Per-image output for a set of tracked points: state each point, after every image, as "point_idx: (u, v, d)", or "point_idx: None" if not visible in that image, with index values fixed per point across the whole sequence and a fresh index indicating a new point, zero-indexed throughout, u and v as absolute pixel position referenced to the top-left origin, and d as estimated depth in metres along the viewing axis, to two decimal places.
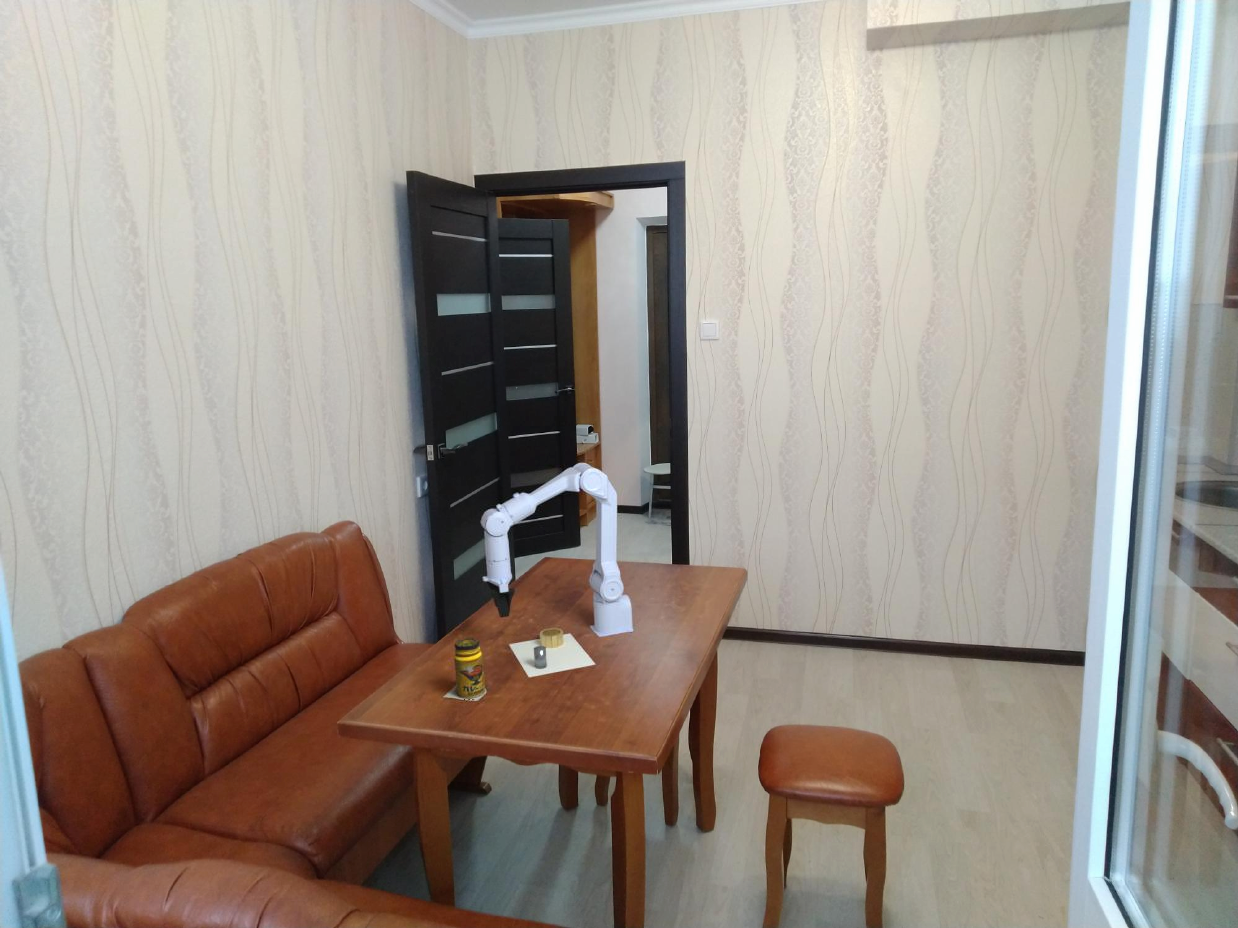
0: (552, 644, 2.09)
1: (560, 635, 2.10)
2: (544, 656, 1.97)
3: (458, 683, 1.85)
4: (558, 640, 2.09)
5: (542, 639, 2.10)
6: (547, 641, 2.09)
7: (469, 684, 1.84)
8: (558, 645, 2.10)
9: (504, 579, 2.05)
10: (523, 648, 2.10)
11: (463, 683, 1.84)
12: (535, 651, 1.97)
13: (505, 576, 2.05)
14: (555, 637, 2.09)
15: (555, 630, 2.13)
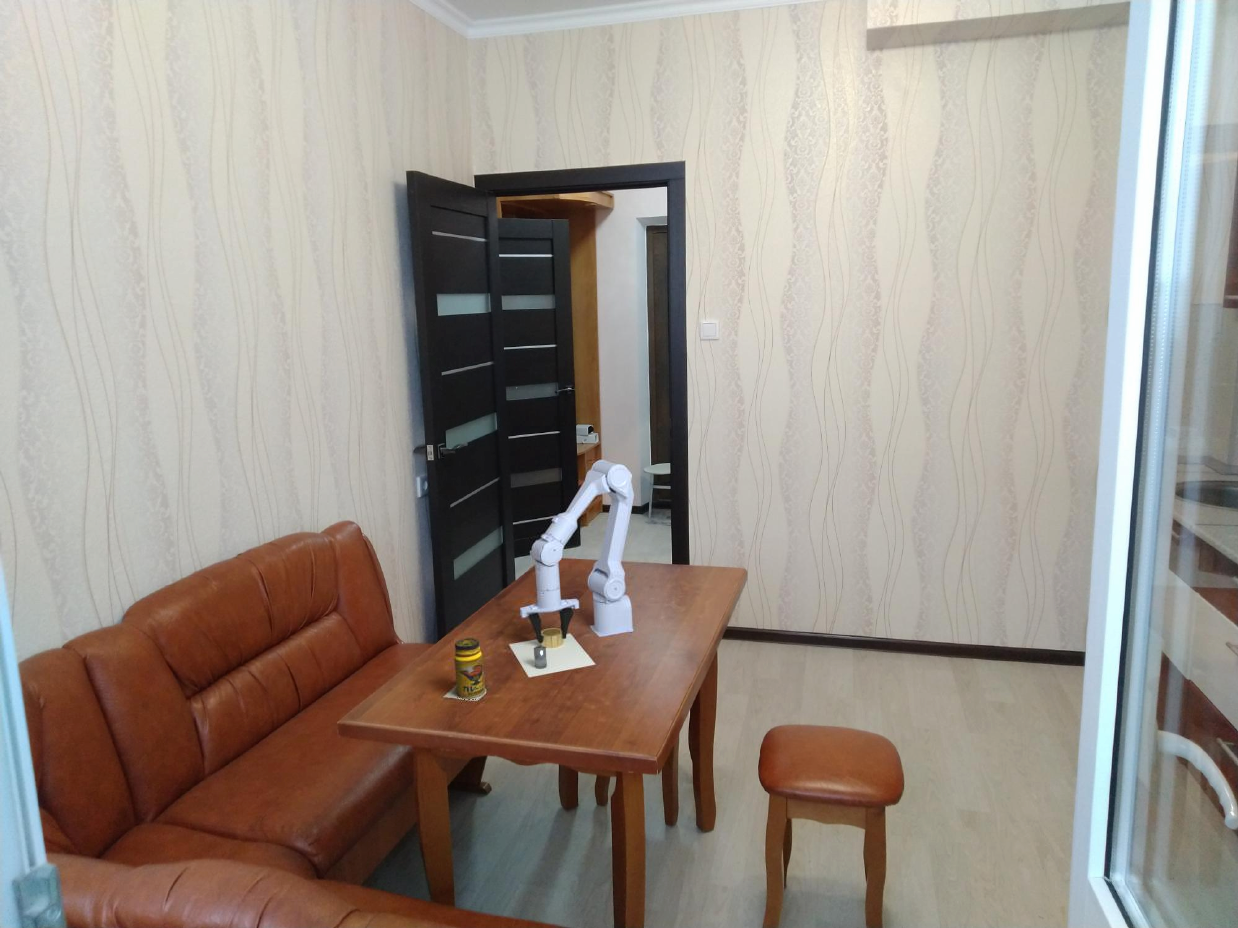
0: (552, 644, 2.09)
1: (560, 635, 2.10)
2: (544, 656, 1.97)
3: (458, 683, 1.85)
4: (558, 640, 2.09)
5: (542, 639, 2.10)
6: (547, 641, 2.09)
7: (469, 684, 1.84)
8: (558, 645, 2.10)
9: (539, 608, 2.08)
10: (523, 648, 2.10)
11: (463, 683, 1.84)
12: (535, 651, 1.97)
13: (540, 606, 2.08)
14: (555, 637, 2.09)
15: (555, 630, 2.13)
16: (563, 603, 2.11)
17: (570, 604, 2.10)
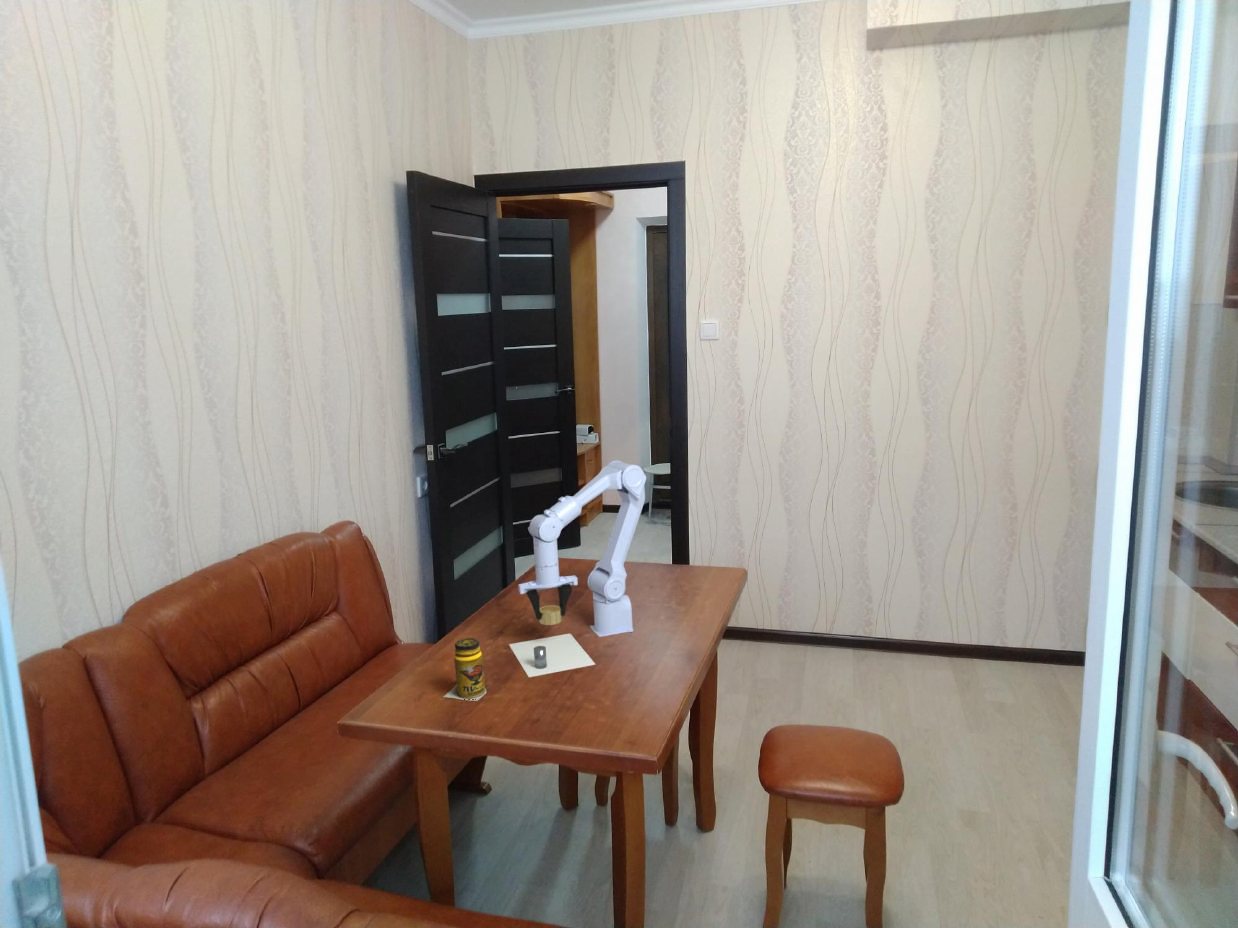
0: (551, 621, 2.08)
1: (559, 612, 2.09)
2: (544, 656, 1.97)
3: (458, 683, 1.85)
4: (557, 617, 2.08)
5: (541, 616, 2.09)
6: (546, 618, 2.08)
7: (469, 684, 1.84)
8: (557, 622, 2.08)
9: (537, 584, 2.07)
10: (523, 648, 2.10)
11: (463, 683, 1.84)
12: (535, 651, 1.97)
13: (538, 582, 2.07)
14: (554, 614, 2.08)
15: (554, 607, 2.12)
16: (562, 580, 2.10)
17: (569, 581, 2.09)
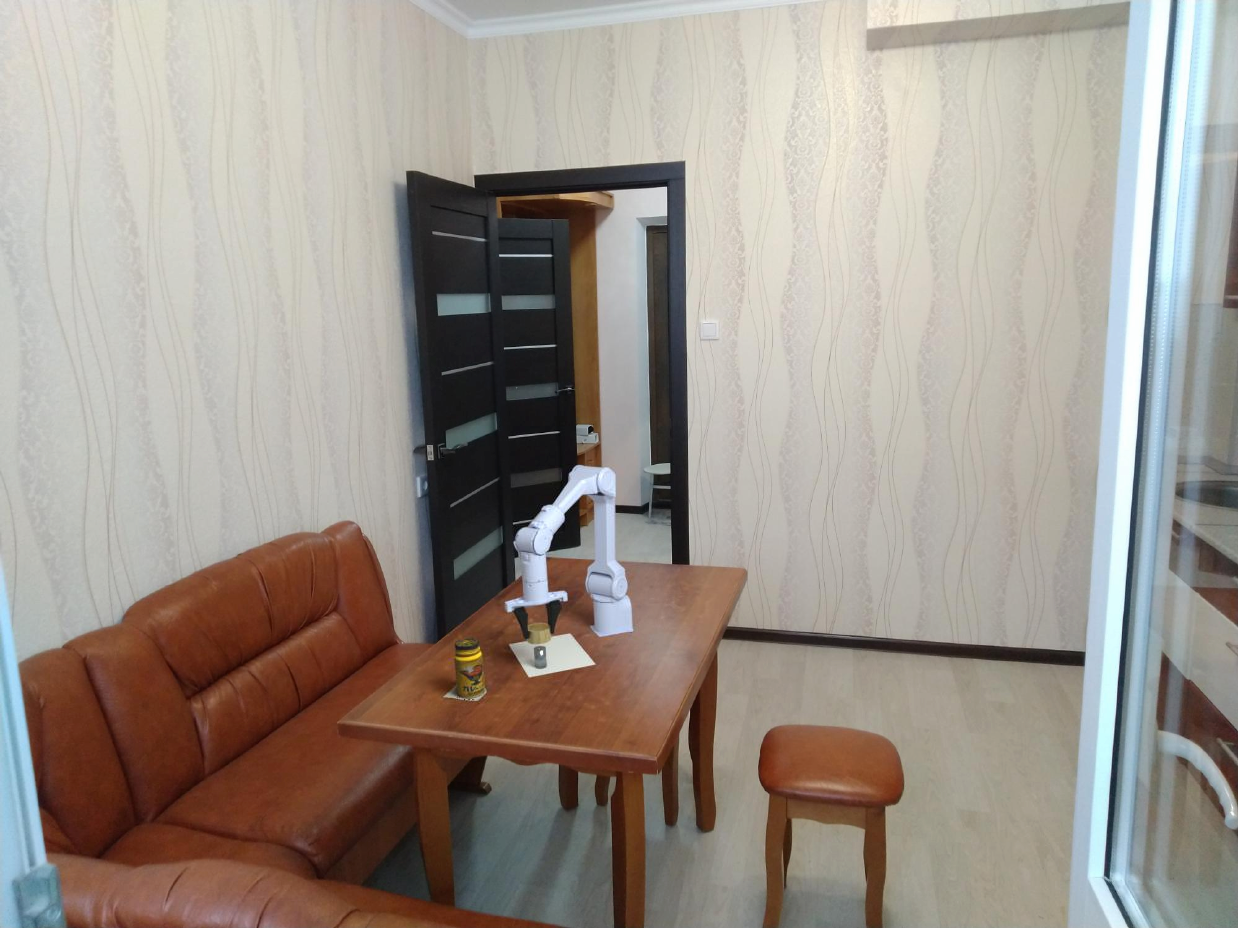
0: (540, 640, 1.95)
1: (548, 630, 1.96)
2: (544, 656, 1.97)
3: (458, 683, 1.85)
4: (546, 635, 1.95)
5: (529, 635, 1.95)
6: (534, 637, 1.95)
7: (469, 684, 1.84)
8: (546, 641, 1.95)
9: (525, 601, 1.94)
10: (523, 648, 2.10)
11: (463, 683, 1.84)
12: (535, 651, 1.97)
13: (527, 599, 1.93)
14: (543, 632, 1.95)
15: (542, 624, 1.99)
16: (550, 596, 1.97)
17: (558, 596, 1.96)
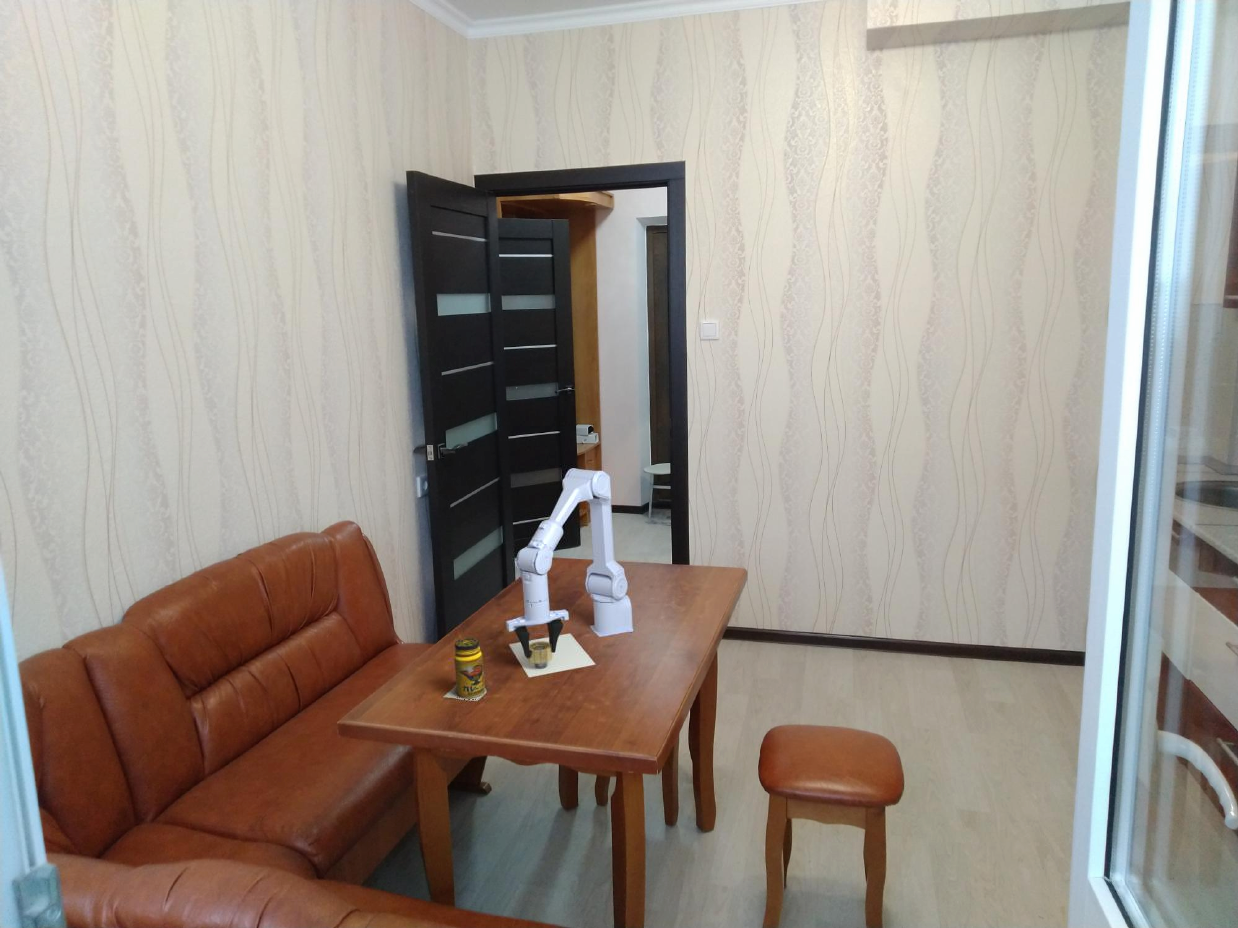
0: (541, 659, 1.95)
1: (549, 649, 1.97)
2: None
3: (458, 683, 1.85)
4: (548, 654, 1.96)
5: (530, 654, 1.96)
6: (536, 656, 1.95)
7: (469, 684, 1.84)
8: (547, 660, 1.96)
9: (526, 620, 1.95)
10: None
11: (463, 683, 1.84)
12: None
13: (528, 618, 1.94)
14: (544, 651, 1.95)
15: (543, 643, 2.00)
16: (552, 615, 1.98)
17: (559, 615, 1.97)
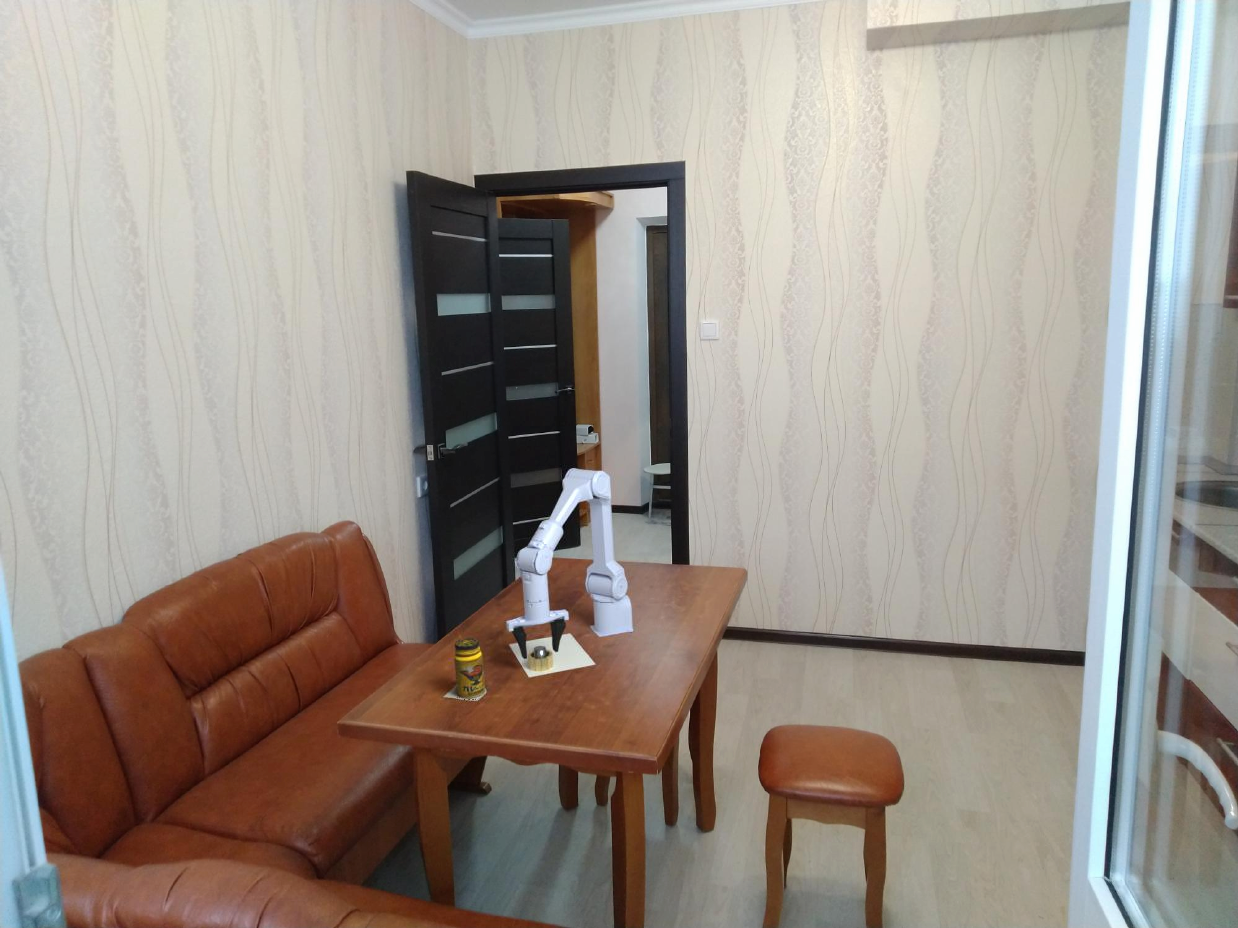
0: (542, 667, 1.96)
1: (550, 657, 1.97)
2: (544, 656, 1.97)
3: (458, 683, 1.85)
4: (548, 662, 1.97)
5: (531, 662, 1.96)
6: (536, 664, 1.96)
7: (469, 684, 1.84)
8: (548, 668, 1.97)
9: (526, 620, 1.95)
10: None
11: (463, 683, 1.84)
12: (535, 651, 1.97)
13: (528, 618, 1.94)
14: (545, 659, 1.96)
15: None
16: (552, 615, 1.98)
17: (559, 615, 1.97)
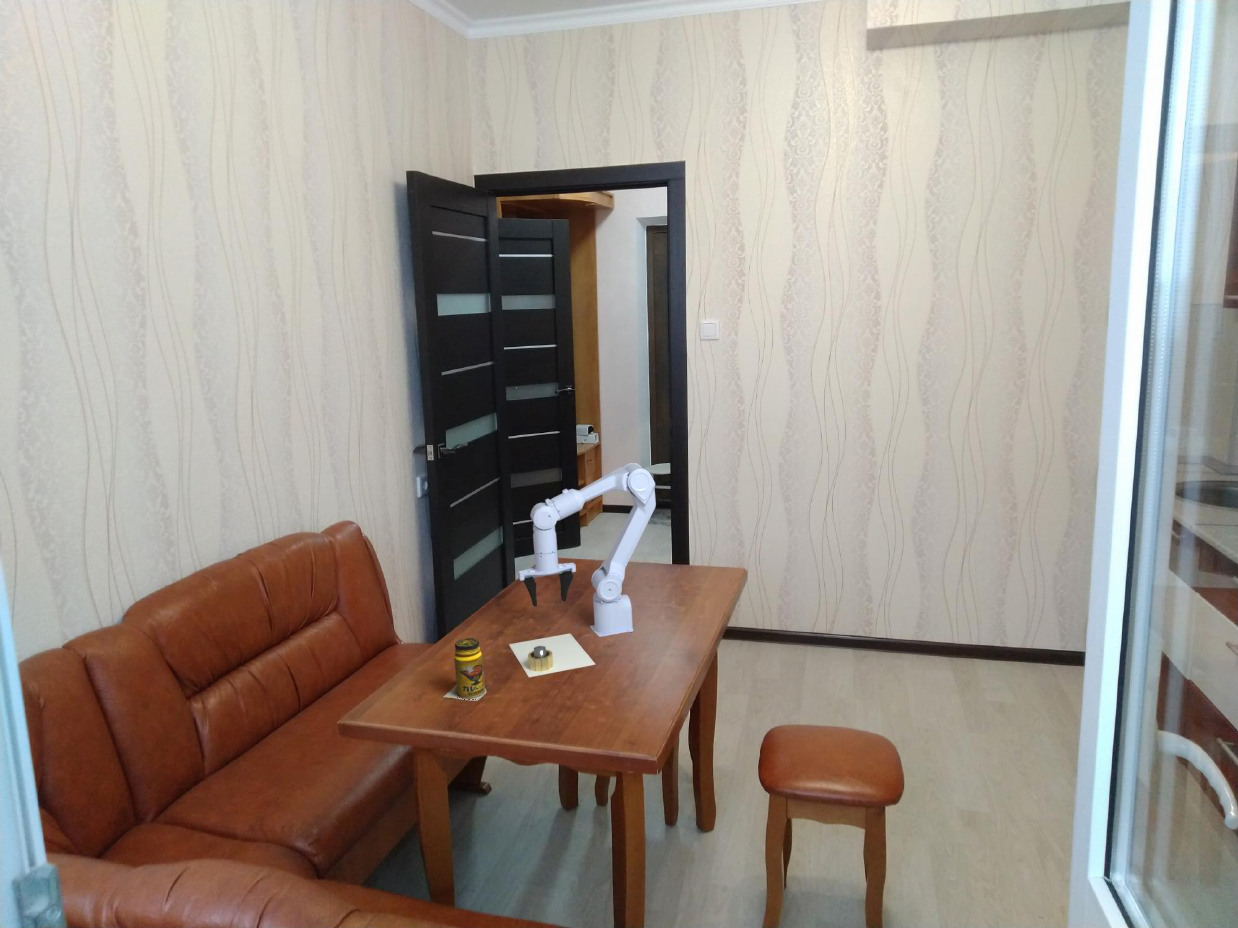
0: (542, 667, 1.96)
1: (550, 657, 1.97)
2: (544, 656, 1.97)
3: (458, 683, 1.85)
4: (548, 662, 1.97)
5: (531, 662, 1.96)
6: (536, 664, 1.96)
7: (469, 684, 1.84)
8: (548, 668, 1.97)
9: (536, 571, 2.12)
10: (523, 648, 2.10)
11: (463, 683, 1.84)
12: (535, 651, 1.97)
13: (538, 569, 2.12)
14: (545, 659, 1.96)
15: None
16: (560, 567, 2.15)
17: (567, 567, 2.14)
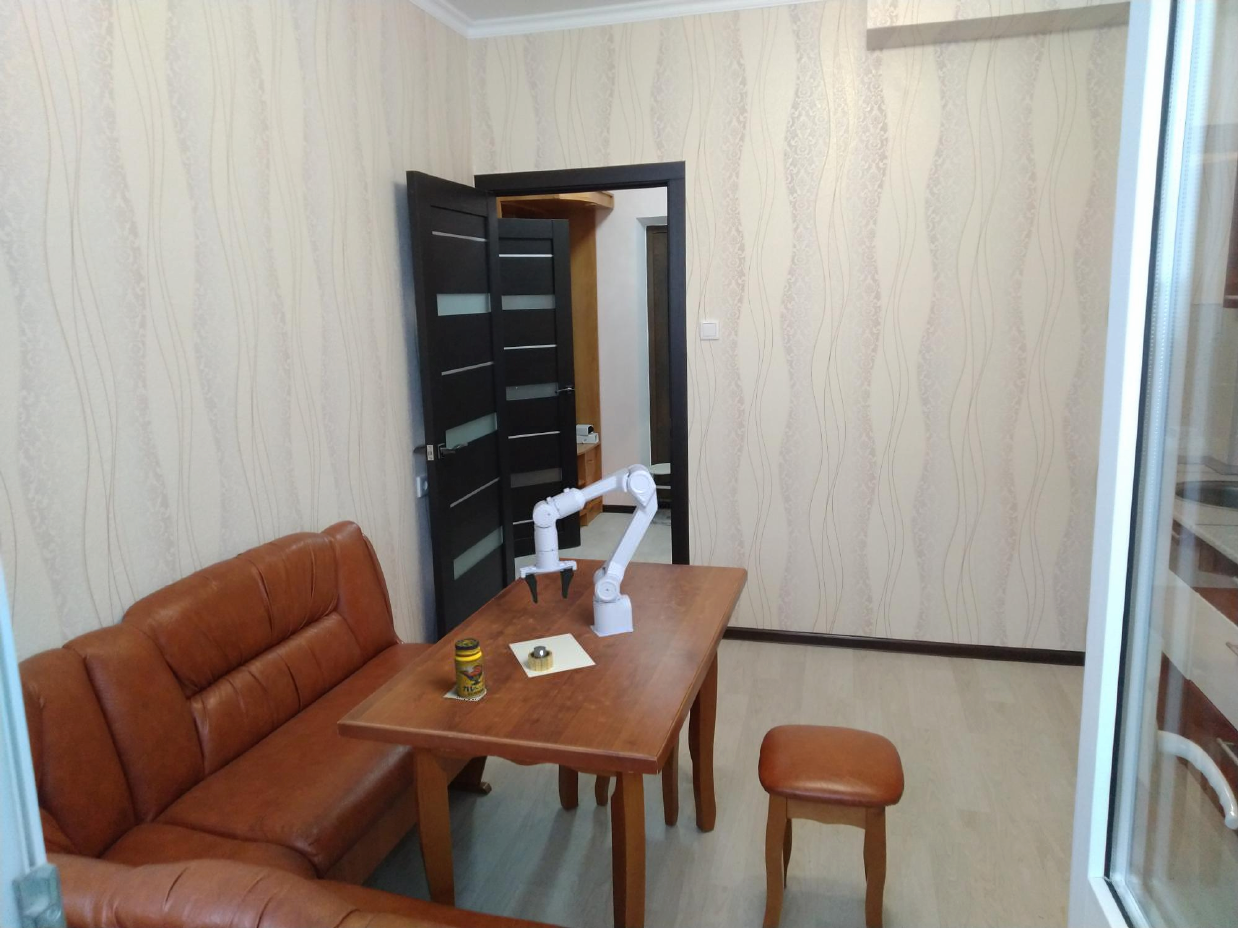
0: (542, 667, 1.96)
1: (550, 657, 1.97)
2: (544, 656, 1.97)
3: (458, 683, 1.85)
4: (548, 662, 1.97)
5: (531, 662, 1.96)
6: (536, 664, 1.96)
7: (469, 684, 1.84)
8: (548, 668, 1.97)
9: (537, 568, 2.14)
10: (523, 648, 2.10)
11: (463, 683, 1.84)
12: (535, 651, 1.97)
13: (539, 566, 2.14)
14: (545, 659, 1.96)
15: None
16: (561, 564, 2.17)
17: (568, 565, 2.16)
